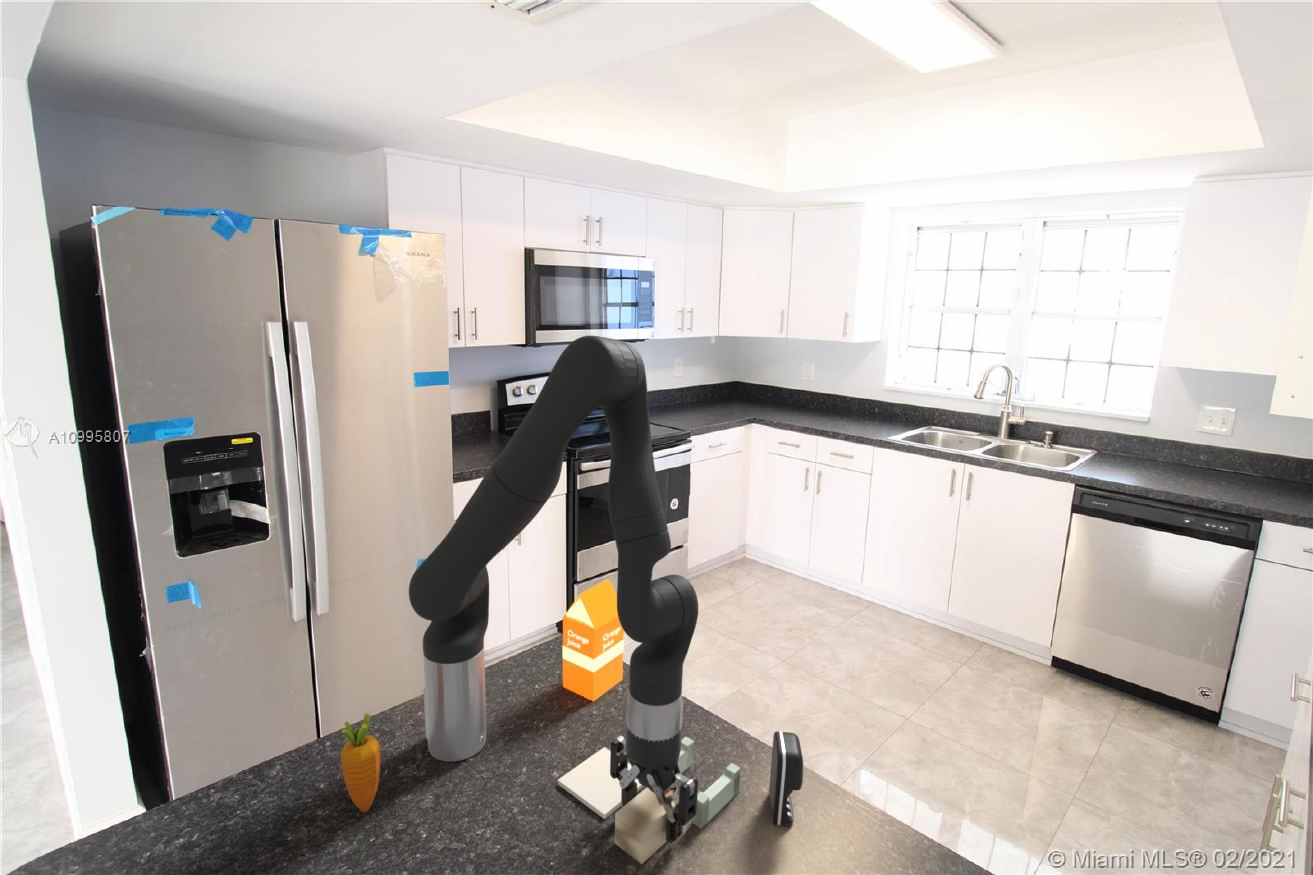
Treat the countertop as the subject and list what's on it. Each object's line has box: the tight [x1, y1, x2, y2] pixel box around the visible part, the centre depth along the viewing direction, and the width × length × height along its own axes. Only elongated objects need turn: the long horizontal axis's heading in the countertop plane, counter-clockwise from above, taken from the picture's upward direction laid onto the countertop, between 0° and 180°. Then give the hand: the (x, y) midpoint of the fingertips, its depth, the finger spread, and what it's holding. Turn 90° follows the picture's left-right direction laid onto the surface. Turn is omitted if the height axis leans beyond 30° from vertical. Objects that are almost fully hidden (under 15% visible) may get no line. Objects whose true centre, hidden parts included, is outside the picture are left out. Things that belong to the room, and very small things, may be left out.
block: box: [614, 787, 676, 865], centre depth 91 cm, size 5×7×5 cm
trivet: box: [557, 746, 646, 820], centre depth 101 cm, size 10×10×1 cm
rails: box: [645, 736, 741, 829], centre depth 100 cm, size 10×10×4 cm
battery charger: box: [768, 730, 804, 826], centre depth 96 cm, size 7×4×11 cm, turn 175°
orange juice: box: [562, 578, 625, 702], centre depth 124 cm, size 8×9×20 cm
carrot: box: [340, 713, 381, 813], centre depth 93 cm, size 5×5×15 cm
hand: (650, 822), depth 93 cm, fingers open, 7 cm apart
